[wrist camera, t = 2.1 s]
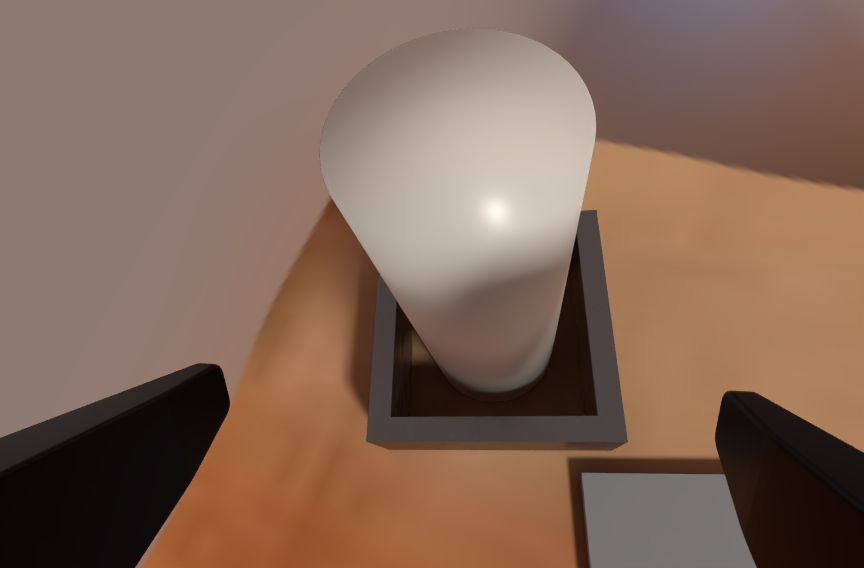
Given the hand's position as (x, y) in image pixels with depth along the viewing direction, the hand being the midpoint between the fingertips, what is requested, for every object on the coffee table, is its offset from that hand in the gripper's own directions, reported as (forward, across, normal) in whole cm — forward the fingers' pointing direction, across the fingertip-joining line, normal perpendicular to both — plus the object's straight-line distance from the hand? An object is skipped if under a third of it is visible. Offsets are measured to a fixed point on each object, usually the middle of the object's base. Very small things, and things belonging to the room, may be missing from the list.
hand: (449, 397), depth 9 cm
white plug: (+11, 0, +5) cm, 12 cm away
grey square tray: (+11, 0, +5) cm, 12 cm away
